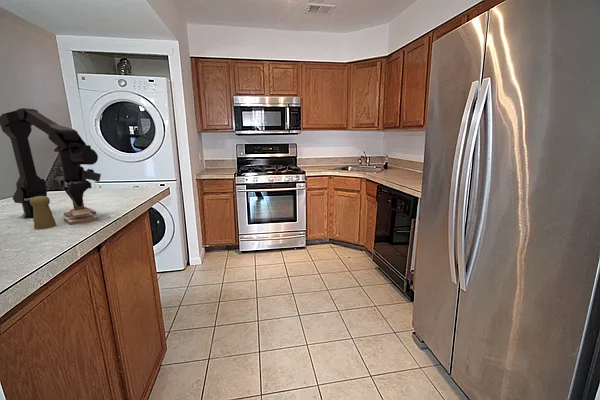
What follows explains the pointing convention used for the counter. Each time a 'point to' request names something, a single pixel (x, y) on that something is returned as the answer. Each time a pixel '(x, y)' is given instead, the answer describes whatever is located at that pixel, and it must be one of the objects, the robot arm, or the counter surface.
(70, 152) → the robot arm
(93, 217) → the stamp board
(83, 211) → the wooden stamp
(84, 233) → the counter surface
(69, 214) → the ink pad
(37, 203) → the cork
